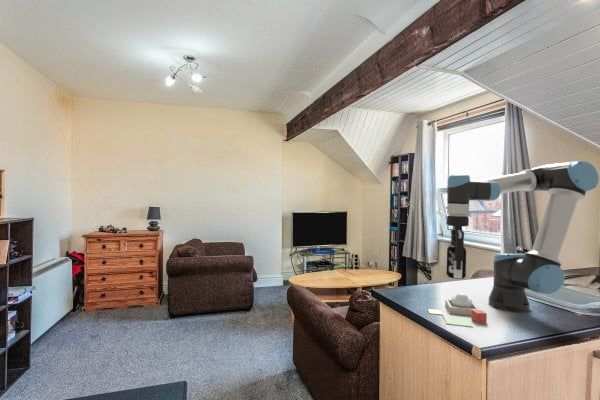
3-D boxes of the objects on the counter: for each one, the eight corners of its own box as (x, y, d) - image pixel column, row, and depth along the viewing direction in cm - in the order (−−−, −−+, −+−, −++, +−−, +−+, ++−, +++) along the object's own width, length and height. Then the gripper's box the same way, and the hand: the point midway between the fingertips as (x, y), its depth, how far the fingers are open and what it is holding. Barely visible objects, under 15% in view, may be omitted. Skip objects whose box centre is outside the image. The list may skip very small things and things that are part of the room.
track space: (440, 311, 132) (440, 310, 132) (442, 315, 127) (442, 314, 127) (427, 309, 134) (427, 308, 134) (429, 313, 129) (429, 312, 129)
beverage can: (467, 279, 118) (468, 247, 118) (448, 278, 120) (449, 246, 120) (463, 275, 125) (463, 245, 125) (444, 274, 126) (445, 244, 126)
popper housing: (473, 307, 137) (473, 301, 137) (479, 316, 127) (479, 310, 127) (445, 304, 141) (445, 298, 141) (449, 313, 130) (449, 306, 130)
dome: (469, 304, 136) (470, 291, 136) (474, 309, 129) (474, 296, 129) (450, 302, 138) (450, 290, 138) (453, 307, 131) (453, 295, 131)
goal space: (467, 318, 124) (467, 317, 124) (473, 327, 116) (473, 326, 116) (442, 315, 127) (442, 314, 127) (446, 324, 118) (446, 323, 118)
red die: (481, 319, 124) (481, 309, 124) (486, 323, 120) (486, 313, 120) (471, 319, 124) (472, 309, 124) (476, 322, 120) (476, 312, 120)
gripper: (443, 214, 133) (442, 269, 133) (450, 216, 114) (448, 280, 114) (463, 214, 130) (462, 271, 130) (474, 217, 112) (472, 283, 112)
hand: (456, 275), depth 122 cm, fingers closed on beverage can, 7 cm apart
